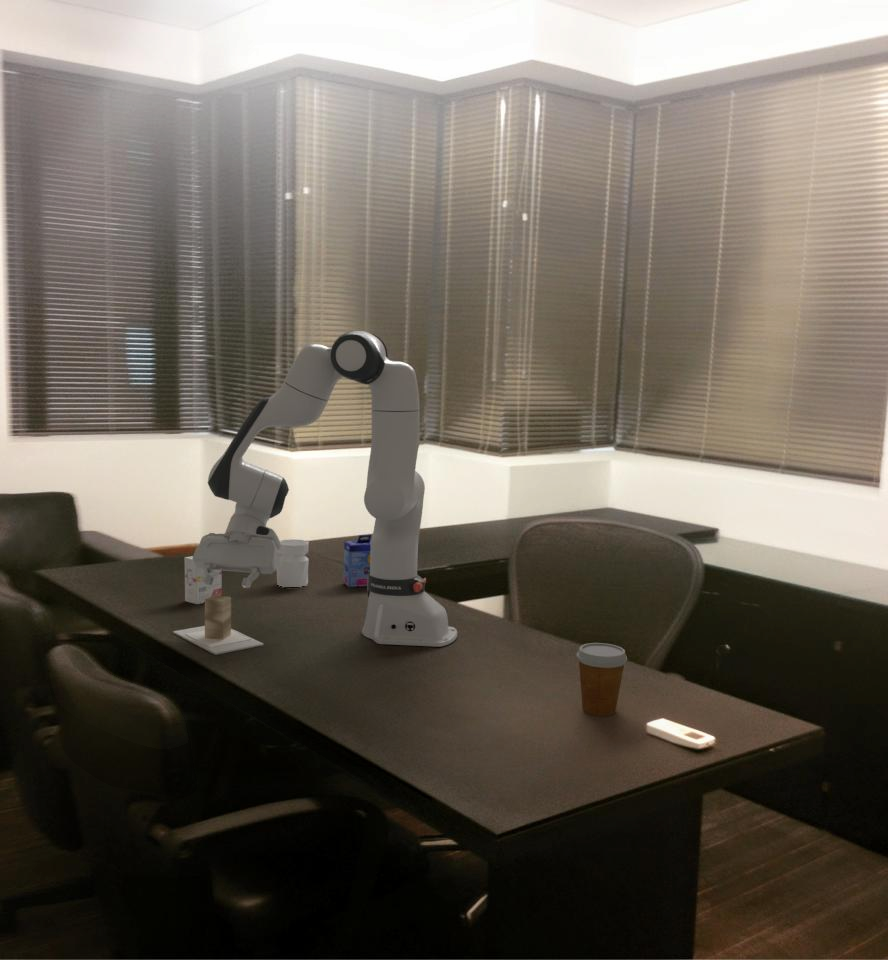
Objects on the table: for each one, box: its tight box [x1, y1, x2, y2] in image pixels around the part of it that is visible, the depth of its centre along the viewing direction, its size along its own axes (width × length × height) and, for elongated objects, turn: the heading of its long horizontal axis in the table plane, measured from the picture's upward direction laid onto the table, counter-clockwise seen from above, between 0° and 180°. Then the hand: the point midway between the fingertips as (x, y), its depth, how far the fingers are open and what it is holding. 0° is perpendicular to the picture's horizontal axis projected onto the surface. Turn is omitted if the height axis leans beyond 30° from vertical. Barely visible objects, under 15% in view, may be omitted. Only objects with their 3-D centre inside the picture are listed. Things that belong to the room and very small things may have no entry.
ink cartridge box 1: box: [184, 547, 223, 605], centre depth 265 cm, size 9×5×15 cm, turn 143°
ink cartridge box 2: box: [342, 534, 372, 588], centre depth 287 cm, size 10×6×14 cm, turn 115°
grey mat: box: [172, 625, 264, 656], centre depth 232 cm, size 20×12×1 cm, turn 41°
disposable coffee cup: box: [576, 642, 628, 717], centre depth 194 cm, size 10×10×12 cm
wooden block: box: [204, 595, 232, 640], centre depth 232 cm, size 4×4×9 cm
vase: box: [276, 538, 310, 588], centre depth 284 cm, size 9×9×12 cm
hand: (226, 585), depth 234 cm, fingers open, 8 cm apart
